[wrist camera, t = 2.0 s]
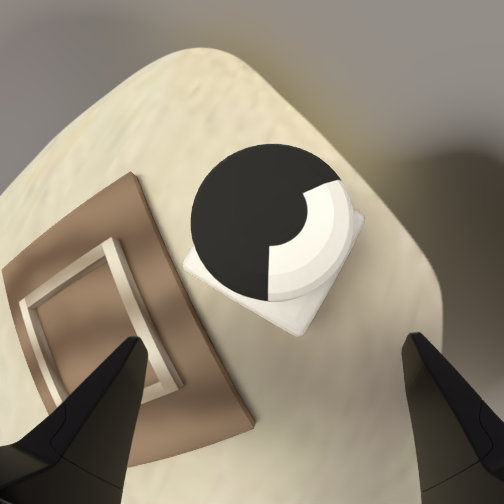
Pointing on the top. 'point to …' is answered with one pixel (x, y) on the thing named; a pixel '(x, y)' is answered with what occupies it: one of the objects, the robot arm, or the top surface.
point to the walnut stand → (121, 322)
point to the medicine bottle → (273, 232)
